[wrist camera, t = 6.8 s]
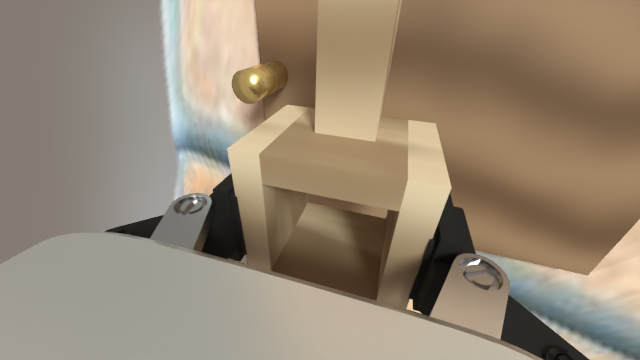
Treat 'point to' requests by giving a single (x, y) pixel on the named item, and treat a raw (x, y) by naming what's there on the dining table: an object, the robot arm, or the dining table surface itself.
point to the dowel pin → (259, 81)
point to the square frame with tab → (343, 169)
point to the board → (505, 113)
